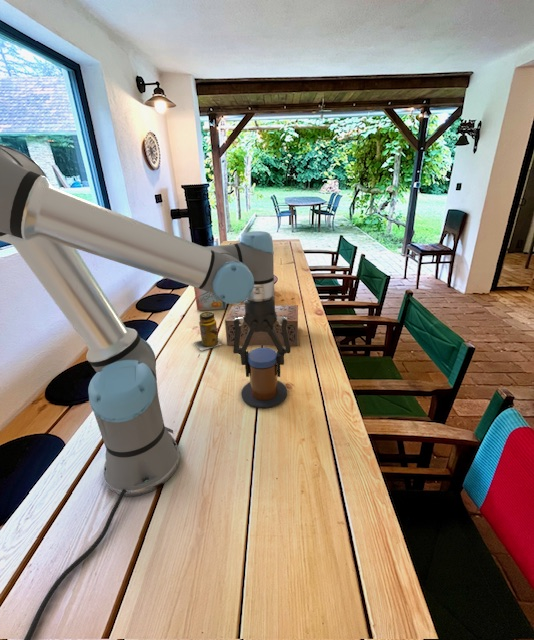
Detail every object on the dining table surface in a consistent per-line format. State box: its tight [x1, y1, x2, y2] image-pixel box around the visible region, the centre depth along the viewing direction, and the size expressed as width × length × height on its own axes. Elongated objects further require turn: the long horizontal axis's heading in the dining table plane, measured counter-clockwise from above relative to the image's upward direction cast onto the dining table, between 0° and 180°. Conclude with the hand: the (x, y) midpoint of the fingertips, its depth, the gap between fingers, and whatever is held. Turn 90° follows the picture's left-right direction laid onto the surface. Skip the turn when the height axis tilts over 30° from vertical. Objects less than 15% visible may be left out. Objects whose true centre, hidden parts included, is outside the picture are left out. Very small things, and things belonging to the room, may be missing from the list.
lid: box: [248, 347, 277, 368], centre depth 86 cm, size 8×8×2 cm
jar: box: [249, 362, 278, 400], centre depth 89 cm, size 8×8×12 cm
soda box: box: [193, 287, 228, 311], centre depth 164 cm, size 41×14×13 cm, turn 3°
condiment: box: [193, 311, 223, 352], centre depth 117 cm, size 7×8×12 cm
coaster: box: [240, 380, 288, 410], centre depth 91 cm, size 13×13×1 cm
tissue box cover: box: [224, 304, 299, 347], centre depth 121 cm, size 26×14×10 cm, turn 85°
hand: (263, 373), depth 89 cm, fingers closed on lid, 8 cm apart
